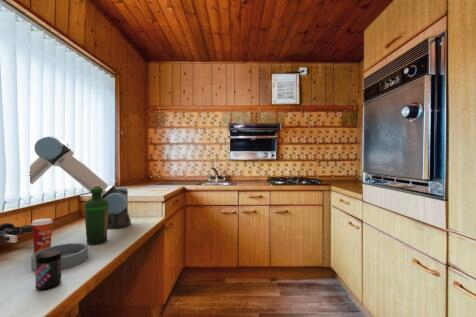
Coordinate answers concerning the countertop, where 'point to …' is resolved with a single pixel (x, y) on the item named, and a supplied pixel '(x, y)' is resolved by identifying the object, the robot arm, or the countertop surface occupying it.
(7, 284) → the countertop surface
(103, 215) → the bottle
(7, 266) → the countertop surface
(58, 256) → the supplement container
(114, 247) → the countertop surface
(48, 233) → the paper cup
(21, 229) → the robot arm
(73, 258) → the bowl
